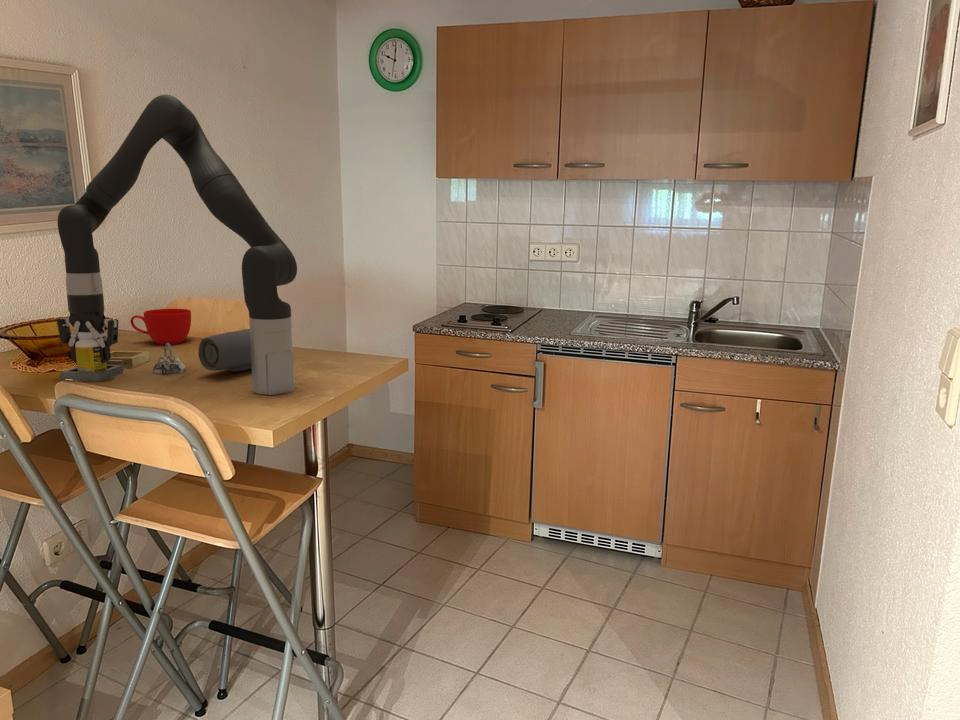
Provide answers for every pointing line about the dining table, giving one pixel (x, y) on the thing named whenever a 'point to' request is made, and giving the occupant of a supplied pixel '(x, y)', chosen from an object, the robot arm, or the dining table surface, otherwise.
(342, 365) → the dining table surface
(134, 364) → the brass socket
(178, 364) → the house of cards
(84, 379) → the graphite socket
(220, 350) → the bluetooth speaker
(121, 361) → the door edge sill
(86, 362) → the pill bottle
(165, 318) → the ceramic cup
